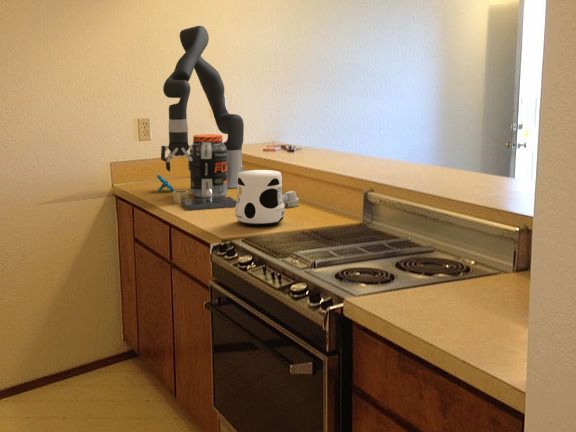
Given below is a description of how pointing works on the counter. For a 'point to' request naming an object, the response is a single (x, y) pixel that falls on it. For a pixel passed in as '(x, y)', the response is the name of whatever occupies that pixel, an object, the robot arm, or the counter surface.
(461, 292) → the counter surface
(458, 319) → the counter surface
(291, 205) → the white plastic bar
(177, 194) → the brass hub
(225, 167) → the supplement tub
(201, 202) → the post stand
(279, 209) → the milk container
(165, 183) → the gear
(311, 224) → the counter surface
